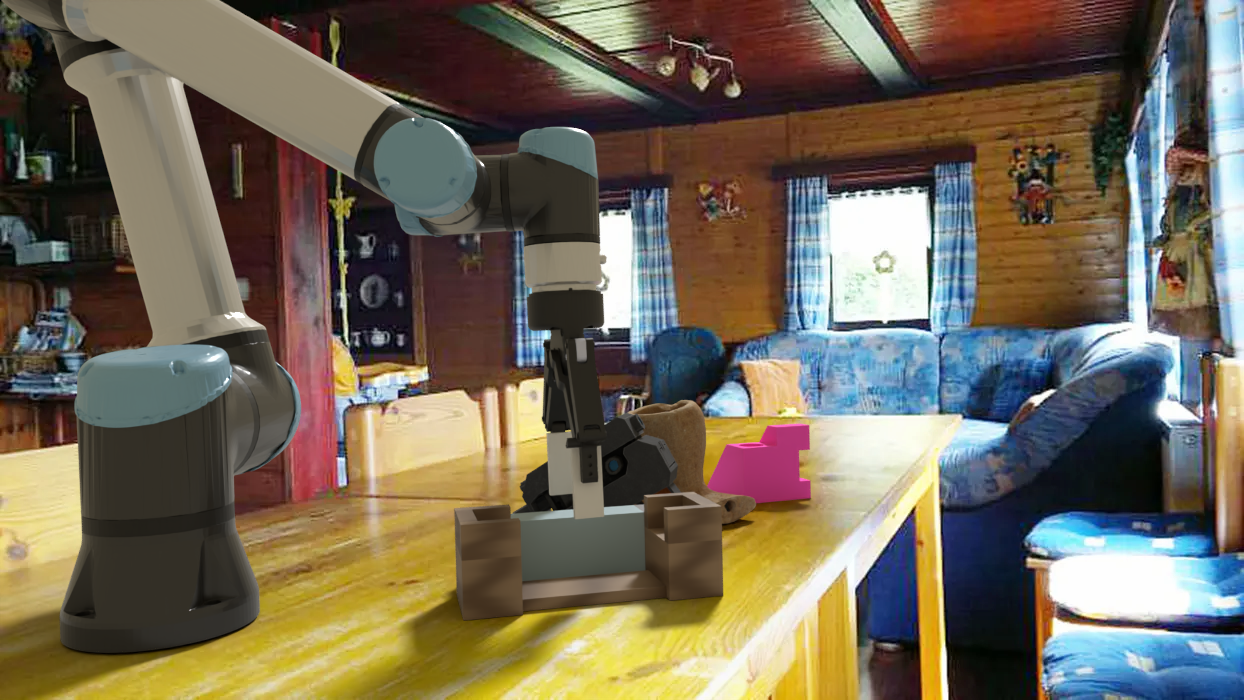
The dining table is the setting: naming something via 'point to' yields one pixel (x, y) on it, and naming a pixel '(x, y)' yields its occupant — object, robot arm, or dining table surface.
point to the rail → (582, 543)
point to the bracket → (765, 466)
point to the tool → (614, 470)
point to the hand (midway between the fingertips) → (574, 505)
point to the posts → (675, 569)
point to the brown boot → (690, 452)
